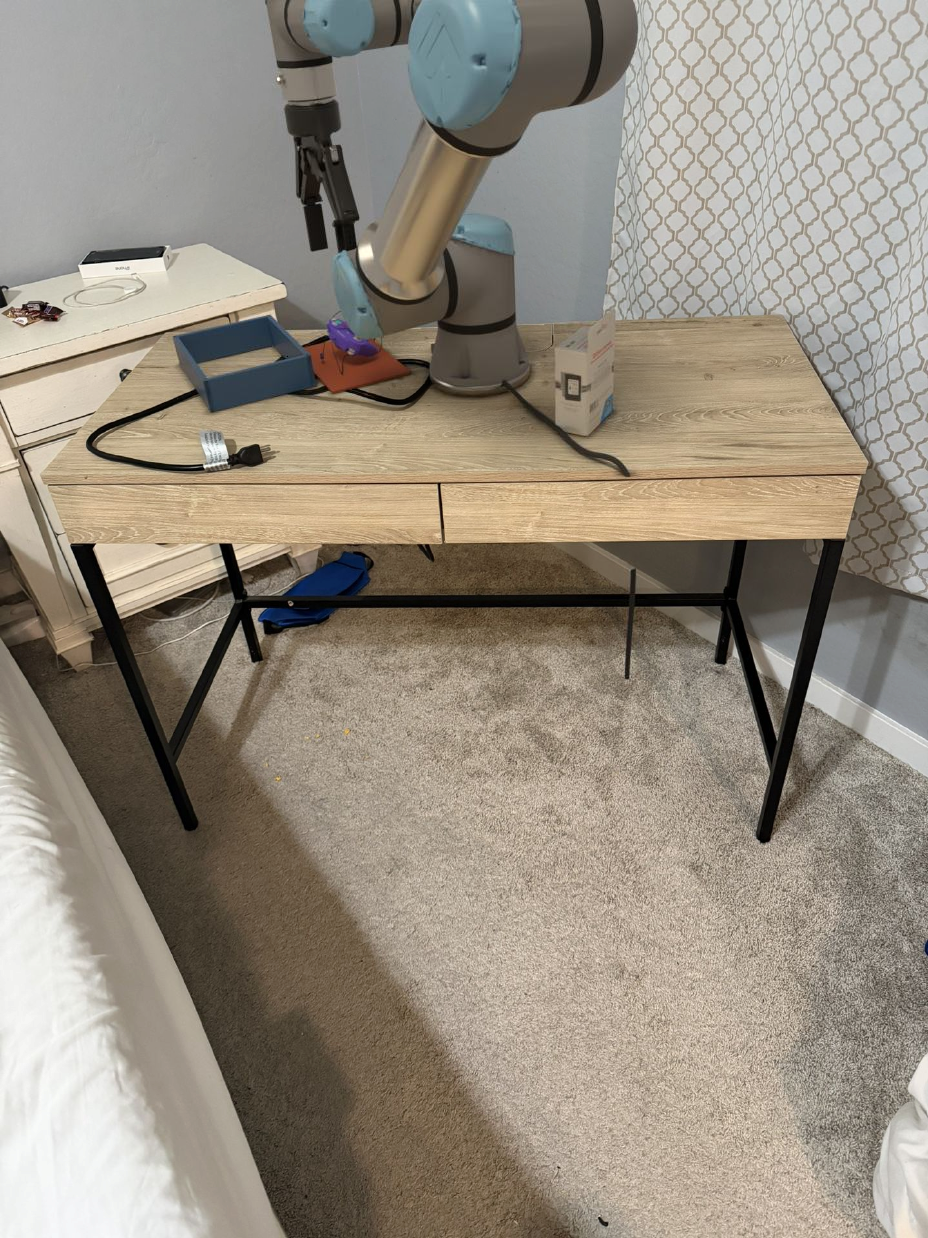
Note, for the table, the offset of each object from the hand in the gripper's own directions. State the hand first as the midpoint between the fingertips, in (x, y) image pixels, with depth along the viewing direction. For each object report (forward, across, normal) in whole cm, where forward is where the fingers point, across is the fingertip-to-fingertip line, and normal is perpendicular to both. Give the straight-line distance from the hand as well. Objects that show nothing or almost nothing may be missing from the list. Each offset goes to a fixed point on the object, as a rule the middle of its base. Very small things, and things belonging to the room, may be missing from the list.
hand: (334, 259), depth 139 cm
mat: (+16, 0, 0) cm, 16 cm away
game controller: (+16, +1, -1) cm, 16 cm away
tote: (+16, -5, -16) cm, 23 cm away
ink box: (+16, +40, +19) cm, 47 cm away
